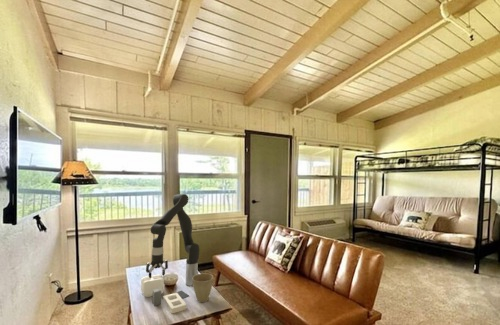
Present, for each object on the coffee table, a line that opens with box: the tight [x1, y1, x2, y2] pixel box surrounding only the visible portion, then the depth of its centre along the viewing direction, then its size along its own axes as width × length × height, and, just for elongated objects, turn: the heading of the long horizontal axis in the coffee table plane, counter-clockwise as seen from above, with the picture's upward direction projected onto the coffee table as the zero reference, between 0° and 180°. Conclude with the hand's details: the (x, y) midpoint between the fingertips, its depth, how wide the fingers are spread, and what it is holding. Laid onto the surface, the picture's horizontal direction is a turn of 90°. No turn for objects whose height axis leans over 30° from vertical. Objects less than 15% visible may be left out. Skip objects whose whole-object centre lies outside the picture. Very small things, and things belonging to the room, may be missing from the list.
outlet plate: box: [162, 292, 188, 314], centre depth 175 cm, size 10×20×3 cm, turn 34°
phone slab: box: [175, 290, 190, 300], centre depth 190 cm, size 6×11×1 cm, turn 45°
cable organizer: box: [140, 274, 165, 298], centre depth 191 cm, size 15×11×12 cm
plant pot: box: [192, 272, 214, 303], centre depth 183 cm, size 15×15×16 cm
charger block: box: [151, 289, 162, 307], centre depth 177 cm, size 4×4×9 cm
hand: (156, 276), depth 177 cm, fingers open, 8 cm apart
